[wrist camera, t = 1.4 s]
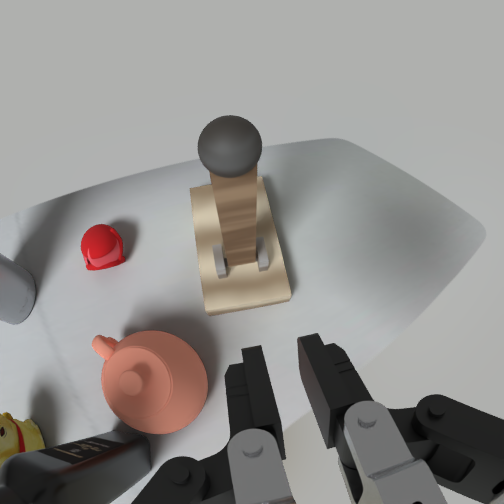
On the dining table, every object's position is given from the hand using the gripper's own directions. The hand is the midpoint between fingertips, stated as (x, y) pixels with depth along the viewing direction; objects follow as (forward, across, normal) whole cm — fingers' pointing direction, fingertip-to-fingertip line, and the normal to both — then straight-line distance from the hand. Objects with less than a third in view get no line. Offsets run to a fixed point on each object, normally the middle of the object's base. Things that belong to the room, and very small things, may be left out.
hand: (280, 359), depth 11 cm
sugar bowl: (+19, +13, +18) cm, 29 cm away
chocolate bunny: (+12, +35, +25) cm, 44 cm away
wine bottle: (+12, +18, +24) cm, 33 cm away
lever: (+24, 0, +5) cm, 24 cm away
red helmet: (+32, +18, +5) cm, 37 cm away
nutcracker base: (+30, 0, +7) cm, 31 cm away
